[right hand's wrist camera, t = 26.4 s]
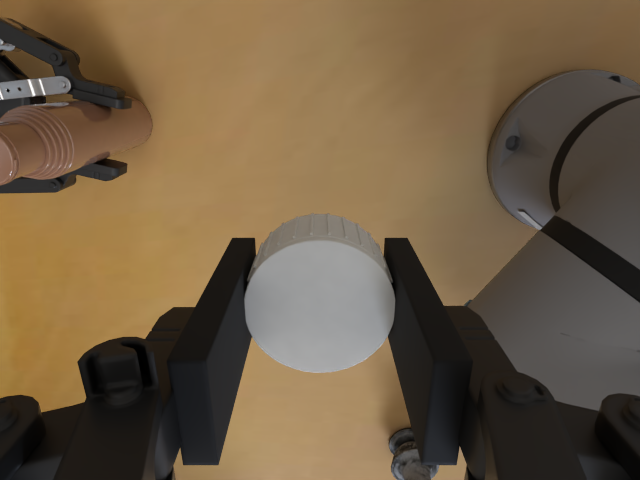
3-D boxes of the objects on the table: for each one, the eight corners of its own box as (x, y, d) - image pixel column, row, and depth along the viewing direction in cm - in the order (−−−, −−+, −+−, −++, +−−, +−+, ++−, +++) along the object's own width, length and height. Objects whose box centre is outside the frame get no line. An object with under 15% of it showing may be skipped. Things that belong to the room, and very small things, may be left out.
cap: (365, 341, 15) (373, 386, 13) (243, 317, 15) (230, 358, 13) (402, 229, 14) (418, 258, 12) (267, 197, 13) (256, 222, 11)
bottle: (100, 139, 41) (-61, 187, 24) (104, 89, 39) (-67, 100, 22) (149, 152, 41) (26, 207, 24) (155, 103, 40) (27, 124, 22)
